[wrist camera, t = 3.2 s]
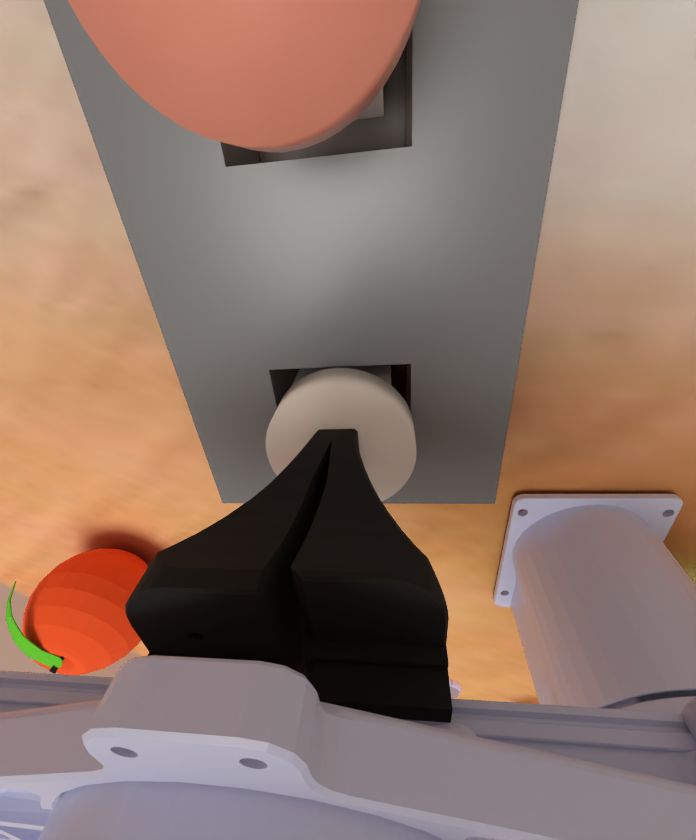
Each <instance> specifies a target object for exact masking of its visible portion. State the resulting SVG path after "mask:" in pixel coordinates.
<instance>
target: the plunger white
mask: <svg viewBox="0 0 696 840" xmlns="http://www.w3.org/2000/svg"><path fill="white" fill-rule="evenodd" d="M320 429H355V430H356V431H358V440H359V452H360V455H361V458H362V461H363V464H364V467H365V470H366V472H367V474H368V477H369V479H370V481H371V483H372V485H373V487H374V489H375V491H376V493H377V495H378V496H379V498H380V500H381V501H384V500H386V499H388V498H389V497H391V496H392V495H394V494H395V493H396V492H398V491H399V490H400V489H401V488H402V487H403V486H404V485H405V483H406V482H407V481H408V479H409V478H410V476H411V474H412V472H413V469H414V466H415V462H416V454H417V452H416V440H415V431H414V422H413V418H412V414H411V411H410V409H409V407H408V405H407V403H406V401H405V400H404V398H403V397H402V396H401V395H400V393H399V392H398V391H397V390H396V389H395V388H394V387H393V386H391V365H370V366H346V367H322V368H300V369H299V371H298V374H297V376H296V378H295V380H294V382H293V384H292V386H291V387H290V388H289V389H288V391H287V392H286V393H285V395H284V396H283V398H282V400H281V401H280V403H279V405H278V407H277V409H276V411H275V413H274V416H273V418H272V420H271V422H270V424H269V426H268V429H267V434H266V452H267V457H268V460H269V463H270V465H271V467H272V469H273V471H274V472H275V474H276V475H277V476H278V475H279V474H280V473H281V472H282V471H283V470H284V469H285V468H286V467H287V466H288V465H289V463H290V462H291V461H292V460H293V459H294V458H295V457H296V456H297V454H298V453H299V452H300V451H301V450H302V449H303V447H304V446H305V445H306V444H307V443H308V441H309V440H310V439H311V438H312V436H313V435H314V434H315V433H316V432H317V431H318V430H320Z"/></svg>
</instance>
